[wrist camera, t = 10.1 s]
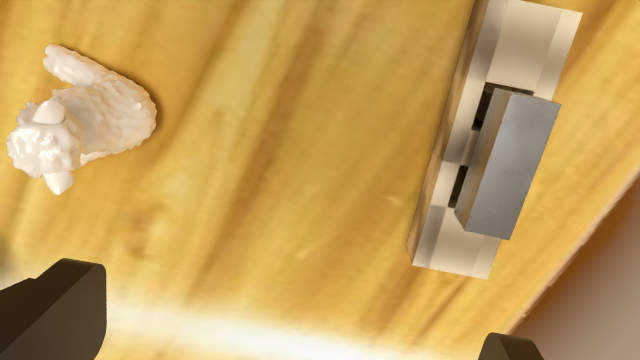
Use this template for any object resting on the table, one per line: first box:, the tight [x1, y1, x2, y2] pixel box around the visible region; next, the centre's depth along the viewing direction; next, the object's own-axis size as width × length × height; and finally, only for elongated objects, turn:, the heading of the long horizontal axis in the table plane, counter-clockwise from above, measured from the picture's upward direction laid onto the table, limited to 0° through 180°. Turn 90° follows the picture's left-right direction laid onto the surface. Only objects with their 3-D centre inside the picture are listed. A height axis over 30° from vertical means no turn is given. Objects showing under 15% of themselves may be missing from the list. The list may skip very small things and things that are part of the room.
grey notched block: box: [452, 88, 561, 240], centre depth 31 cm, size 9×3×8 cm, turn 169°
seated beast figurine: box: [6, 44, 157, 195], centre depth 30 cm, size 10×9×12 cm
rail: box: [407, 0, 583, 280], centre depth 33 cm, size 20×6×4 cm, turn 169°
